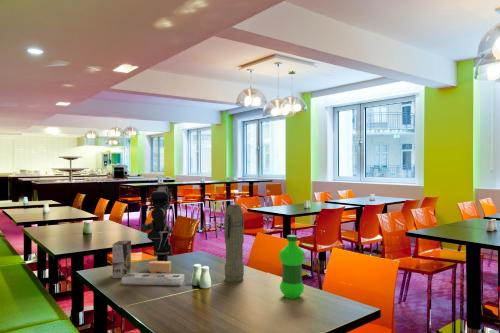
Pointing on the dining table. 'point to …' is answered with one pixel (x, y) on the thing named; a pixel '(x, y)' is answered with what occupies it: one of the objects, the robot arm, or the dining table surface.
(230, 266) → the thermos
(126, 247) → the coffee box
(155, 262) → the tapered peach wedge
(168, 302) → the dining table surface
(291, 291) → the plastic bottle
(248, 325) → the dining table surface
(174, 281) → the rail
